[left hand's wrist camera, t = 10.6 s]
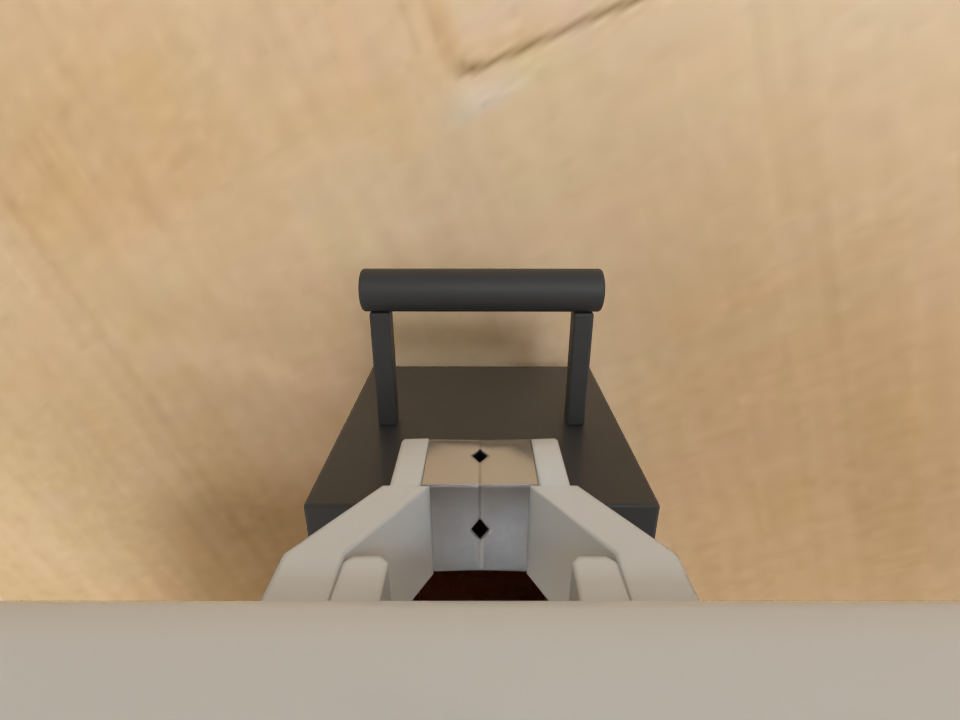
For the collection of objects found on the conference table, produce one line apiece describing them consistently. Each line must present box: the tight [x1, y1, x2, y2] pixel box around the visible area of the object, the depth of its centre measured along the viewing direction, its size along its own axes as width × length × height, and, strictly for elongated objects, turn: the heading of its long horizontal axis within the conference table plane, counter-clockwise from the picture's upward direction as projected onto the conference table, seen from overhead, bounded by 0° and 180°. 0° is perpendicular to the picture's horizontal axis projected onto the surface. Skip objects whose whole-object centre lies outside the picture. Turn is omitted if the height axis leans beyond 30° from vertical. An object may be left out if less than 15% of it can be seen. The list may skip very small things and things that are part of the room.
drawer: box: [304, 269, 660, 601], centre depth 19 cm, size 20×9×9 cm, turn 0°
